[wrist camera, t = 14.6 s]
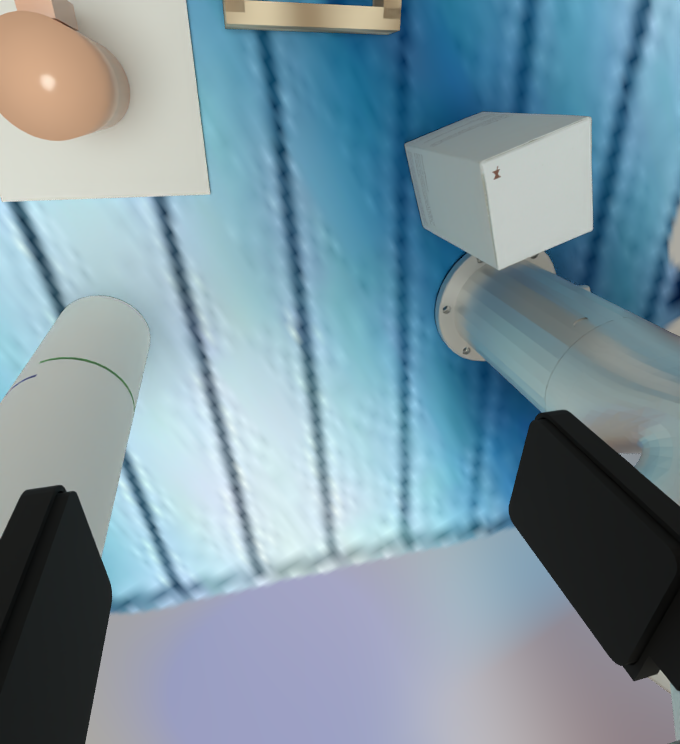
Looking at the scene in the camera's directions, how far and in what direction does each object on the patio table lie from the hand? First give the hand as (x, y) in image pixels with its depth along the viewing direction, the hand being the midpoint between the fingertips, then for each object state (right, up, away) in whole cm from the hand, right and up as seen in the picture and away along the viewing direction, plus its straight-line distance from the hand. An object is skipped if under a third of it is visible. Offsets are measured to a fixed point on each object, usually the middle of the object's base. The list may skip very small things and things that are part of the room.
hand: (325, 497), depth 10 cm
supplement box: (+10, +20, +30) cm, 37 cm away
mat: (-16, +22, +21) cm, 34 cm away
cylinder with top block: (-16, +21, +21) cm, 34 cm away
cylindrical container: (-19, +6, +30) cm, 36 cm away
